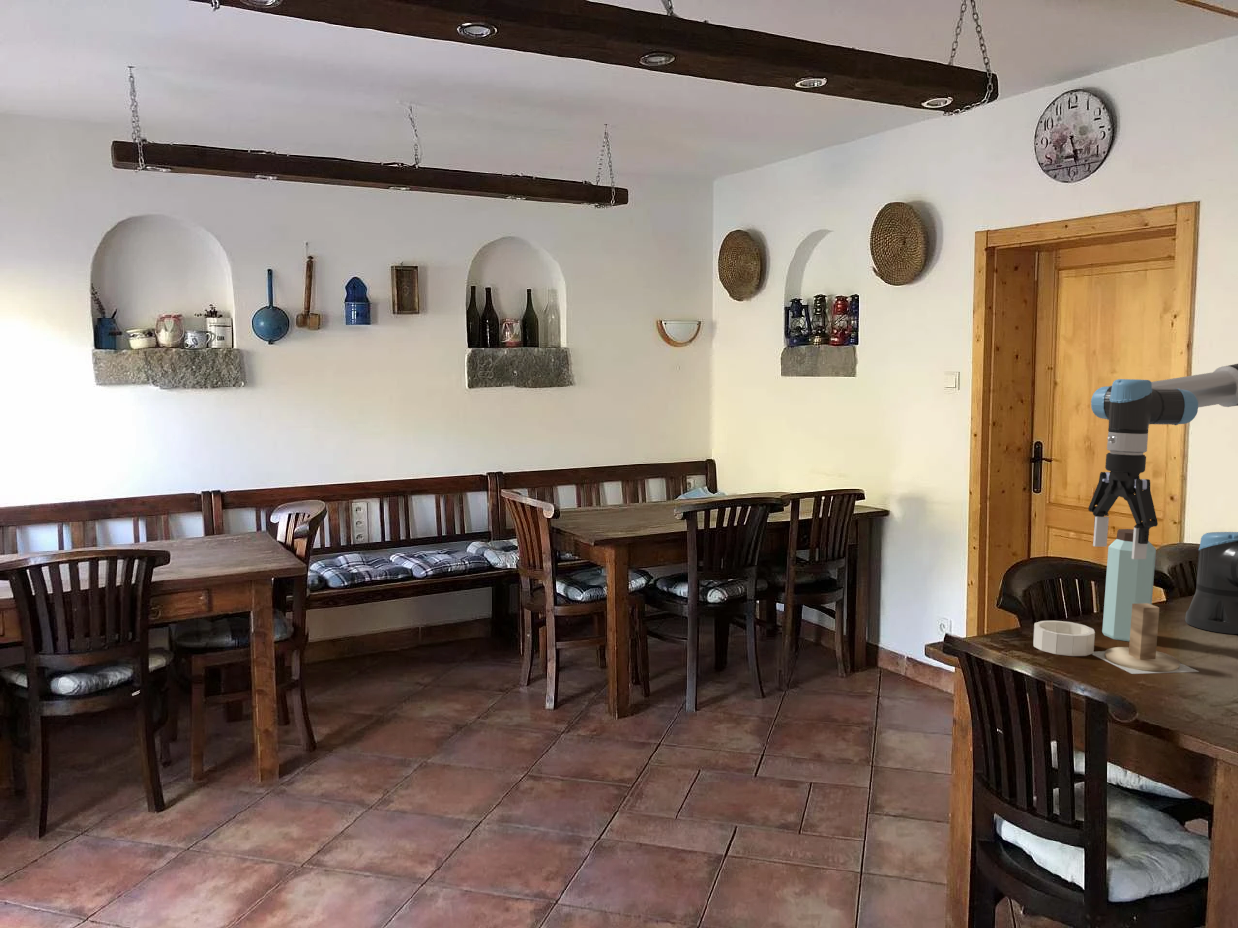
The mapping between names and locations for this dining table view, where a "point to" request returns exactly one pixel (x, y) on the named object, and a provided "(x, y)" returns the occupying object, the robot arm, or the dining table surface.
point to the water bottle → (1126, 584)
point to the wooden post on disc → (1143, 643)
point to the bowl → (1064, 638)
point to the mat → (1133, 671)
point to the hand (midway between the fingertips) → (1118, 552)
